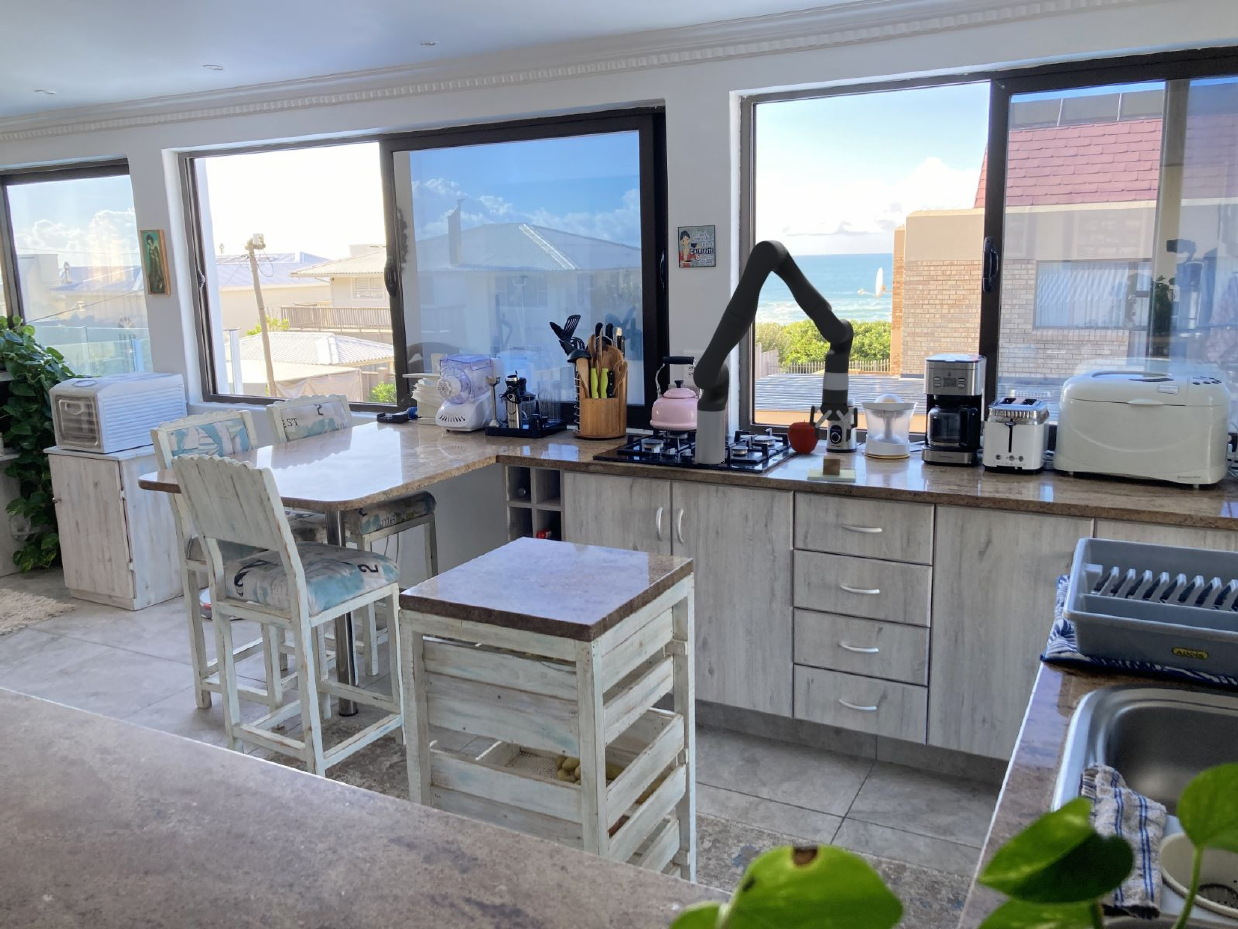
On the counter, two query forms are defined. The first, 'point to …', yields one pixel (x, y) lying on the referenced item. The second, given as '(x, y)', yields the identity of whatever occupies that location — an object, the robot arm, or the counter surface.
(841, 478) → the sage board
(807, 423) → the apple
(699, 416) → the robot arm
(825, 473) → the walnut cube
